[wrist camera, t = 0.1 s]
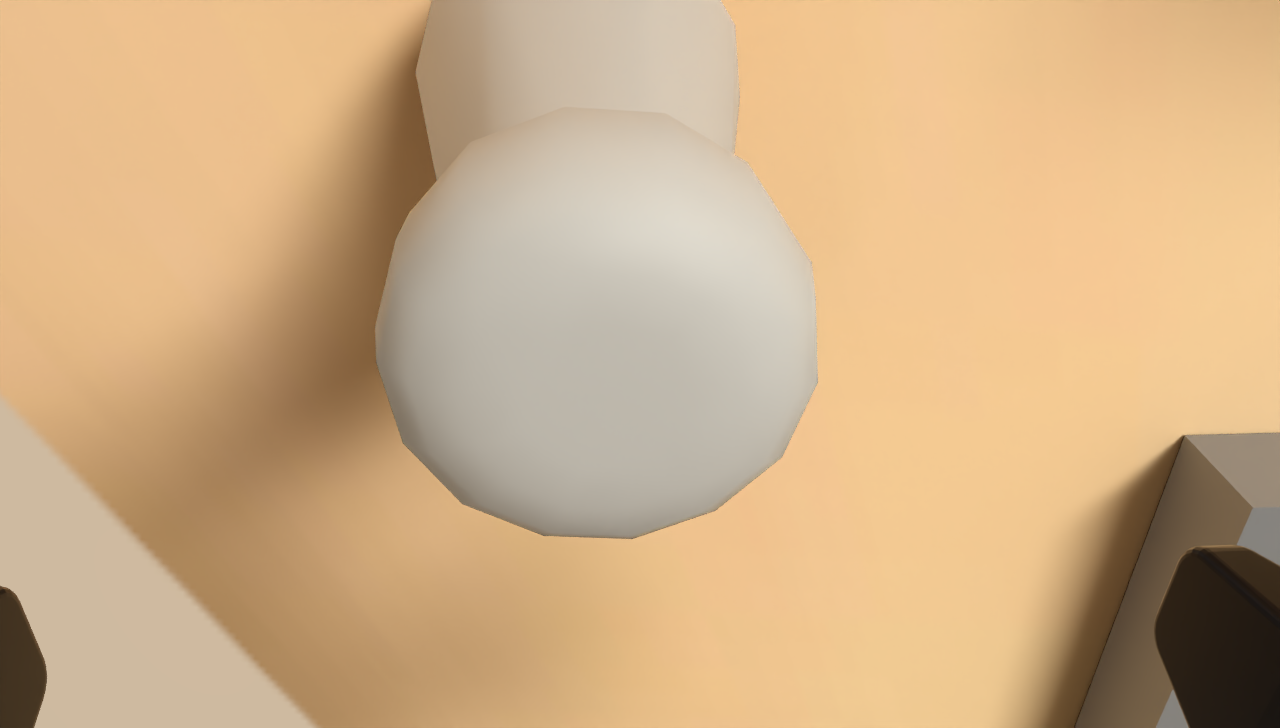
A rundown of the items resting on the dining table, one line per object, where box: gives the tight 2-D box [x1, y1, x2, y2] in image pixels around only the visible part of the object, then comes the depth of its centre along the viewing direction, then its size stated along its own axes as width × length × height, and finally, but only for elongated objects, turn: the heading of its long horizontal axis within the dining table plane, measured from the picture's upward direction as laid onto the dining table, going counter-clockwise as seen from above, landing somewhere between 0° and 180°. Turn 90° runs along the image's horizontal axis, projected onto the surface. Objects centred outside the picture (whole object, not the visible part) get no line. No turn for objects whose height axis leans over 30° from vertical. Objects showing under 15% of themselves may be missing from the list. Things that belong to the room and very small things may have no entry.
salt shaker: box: [375, 0, 818, 539], centre depth 14 cm, size 6×6×13 cm
